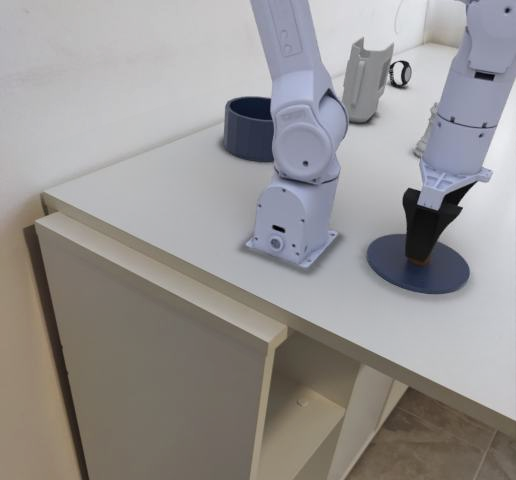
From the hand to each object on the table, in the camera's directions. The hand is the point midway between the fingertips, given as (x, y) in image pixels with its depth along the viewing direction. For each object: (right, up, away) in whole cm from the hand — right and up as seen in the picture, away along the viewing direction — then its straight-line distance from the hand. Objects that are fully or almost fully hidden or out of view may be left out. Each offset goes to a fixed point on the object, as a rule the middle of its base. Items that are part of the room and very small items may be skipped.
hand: (424, 243), depth 59 cm
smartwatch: (+12, +45, +58) cm, 74 cm away
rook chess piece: (+9, +20, +29) cm, 36 cm away
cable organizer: (0, +32, +41) cm, 52 cm away
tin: (-18, +20, +25) cm, 37 cm away
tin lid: (0, -2, +2) cm, 3 cm away
